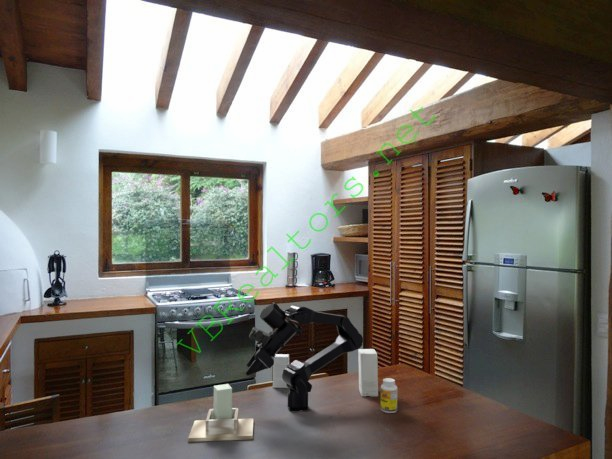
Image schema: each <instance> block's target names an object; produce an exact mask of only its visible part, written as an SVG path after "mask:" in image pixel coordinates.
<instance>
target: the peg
mask: <svg viewBox="0 0 612 459" xmlns="http://www.w3.org/2000/svg"><path fill="white" fill-rule="evenodd" d="M212 407H213V408H212V409H213V419H232V408H233V387H231V385H230V384H229V383H224V384H218V385H213V406H212Z"/></svg>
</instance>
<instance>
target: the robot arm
mask: <svg viewBox="0 0 612 459" xmlns="http://www.w3.org/2000/svg"><path fill="white" fill-rule="evenodd" d="M259 317H260V319H261V320H262V321H263V322H264V323H265V324H266V325H268V326H269V327H270V328H271V329H273V331H272V330H271V331H270V332H266V331H265V330H261V329H259V328H258V327H255V326H253V327H252V329H251V331H250V333H249V335H248V338H249V339H250V340H251V341H255V342H256V343H255V351H254V353H253V354H252V356H251V357H250V359H249V360H248V362H247V364H246V367H247V368H248V369H247V370H246V371H245V375H246V376H251V375H254V374H256V373H258V372H261V371H264V370H267V369H271V368H273V365H274V357H275V356H276V354H278V352H279V351H280V350H281V349H283V348H285V345H286V344H287V343H288V342H289V341H290V340H291V339H292V338H293V336H295V335H296V334H297V336H298V337H302V330H303V328H302V326H301V325H306V324H307V325H309V324H313V323H317V324H324V325H329V326H330V325H331V326H336V331H337V334H338V336H337V337H336V339H335V341H334V342H333V343H332V344H330V345H329V346H326V348H324V349H322V350H321V351H319V352H318V353H316V354H314V355H313V356H311V357H310V358H308V359H306V360H305V361H300V360H298V359H295V360H293V361H292V362H291V363H289V365H286V366H287V367H286V368H285V369H284V370H283V374H282V379H283V381H284V382H285V383H286V385H287V387H288V388H289V389H288V391H289V392H287V395H286V397H287V400H286V401H287V402H286V404H287V407H288V409H289V412H303V411H304V412H306V411H307V412H308V411H309V410H310V408H309V393H310V392H312V389H313V384H311V383H310V382H309V381H310V378H311V377H312V375H313V374H314V373H315V372H317V371H319V370H320V369H322V368H323V367H325V366H326V365H328V364H329V363H331V362H332V361H334V360H335V359H337V358H338V357H340V356H341V355H343V354H346V353H351V352H352V353H353V352H354V351H358V349H361V348H362V347H363V342H364V338H363V335H362V334H361V333H360V332H359V331H358V329H357V328H356V327H355V326H354V324H353V323H352V322H351V320H350V318H349V317H348V316H346V315H343V314H334V313H327V312H321V311H316V310H314V309H311V308H308V307H305V306H303V305H298V304H292V305H291V306H290V307H289V308H286V309H282V308H281V307H280V306H279V305H278V304H277V303H276V302H272V303H271V304H270V305H268V306H266V307H265V308H263V309H262V311H261V312H260V314H259ZM289 320H290V321H289ZM294 322H295V323H297V324H301V325H297V324H295V323H294Z"/></svg>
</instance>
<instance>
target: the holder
mask: <svg viewBox="0 0 612 459" xmlns="http://www.w3.org/2000/svg"><path fill="white" fill-rule="evenodd" d="M253 438H254V418H250V417H249V418H239V407H232V419H213V408H209V409H208V412H207V416H206V419H202V420H200V419H197V420H194V421H193V425H192V427H191V429H190V433H189V435H188V438H187V442H188V443H192V442H215V441H216V442H217V441H241V440H246V441H247V440H253Z"/></svg>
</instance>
